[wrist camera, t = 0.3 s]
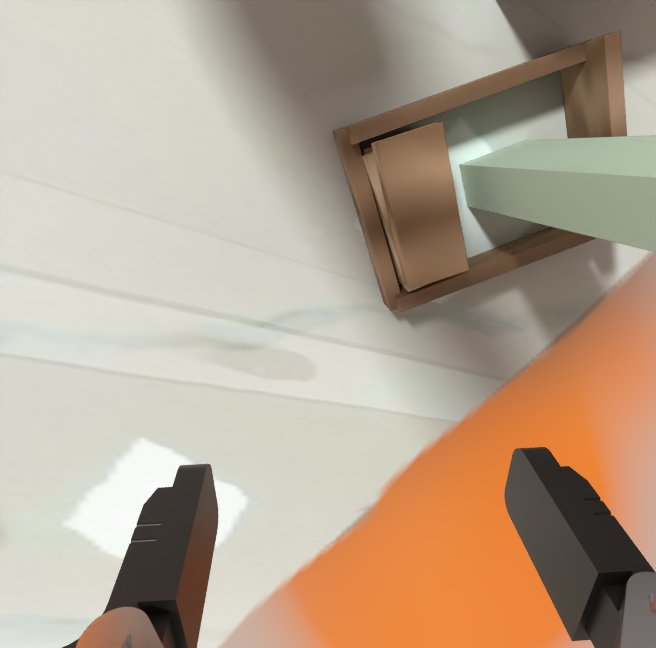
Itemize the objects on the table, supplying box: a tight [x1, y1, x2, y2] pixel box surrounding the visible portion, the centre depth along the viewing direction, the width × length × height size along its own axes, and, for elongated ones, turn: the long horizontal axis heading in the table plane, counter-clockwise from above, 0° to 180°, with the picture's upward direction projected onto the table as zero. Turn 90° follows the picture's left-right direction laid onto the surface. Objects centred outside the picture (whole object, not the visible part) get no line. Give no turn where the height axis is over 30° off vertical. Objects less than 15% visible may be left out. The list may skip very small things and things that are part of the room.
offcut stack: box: [360, 122, 469, 292], centre depth 36 cm, size 12×5×5 cm, turn 18°
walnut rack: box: [333, 31, 627, 312], centre depth 37 cm, size 15×20×5 cm
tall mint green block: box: [459, 135, 656, 252], centre depth 30 cm, size 4×6×20 cm, turn 108°
